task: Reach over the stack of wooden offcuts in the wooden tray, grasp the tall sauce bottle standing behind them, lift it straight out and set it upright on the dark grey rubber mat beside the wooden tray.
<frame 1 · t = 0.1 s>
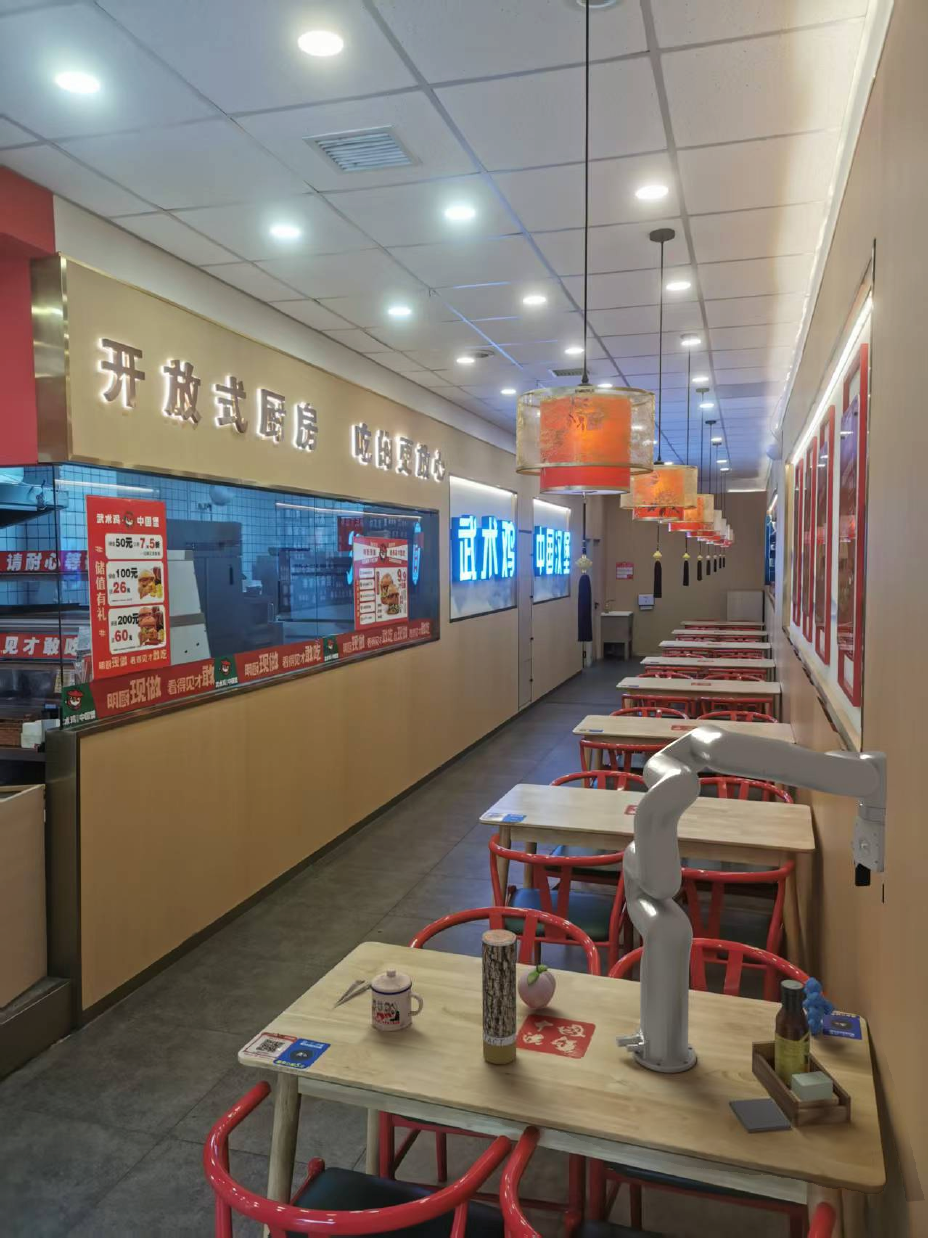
hand: (876, 894, 182), 31 cm above the table, fingers open, 9 cm apart
decorative fruit: (535, 1009, 198), on the table
teacup with lid: (397, 1023, 193), on the table
offcut top: (811, 1094, 160), point 3 cm above the table
grapes: (817, 1035, 187), on the table
sauce bottle: (791, 1087, 168), resting in wooden tray
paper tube: (499, 1057, 179), on the table
wooden tray: (798, 1095, 165), on the table
mat: (759, 1116, 159), on the table
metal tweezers: (346, 1001, 204), on the table
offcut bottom: (812, 1113, 160), resting in wooden tray
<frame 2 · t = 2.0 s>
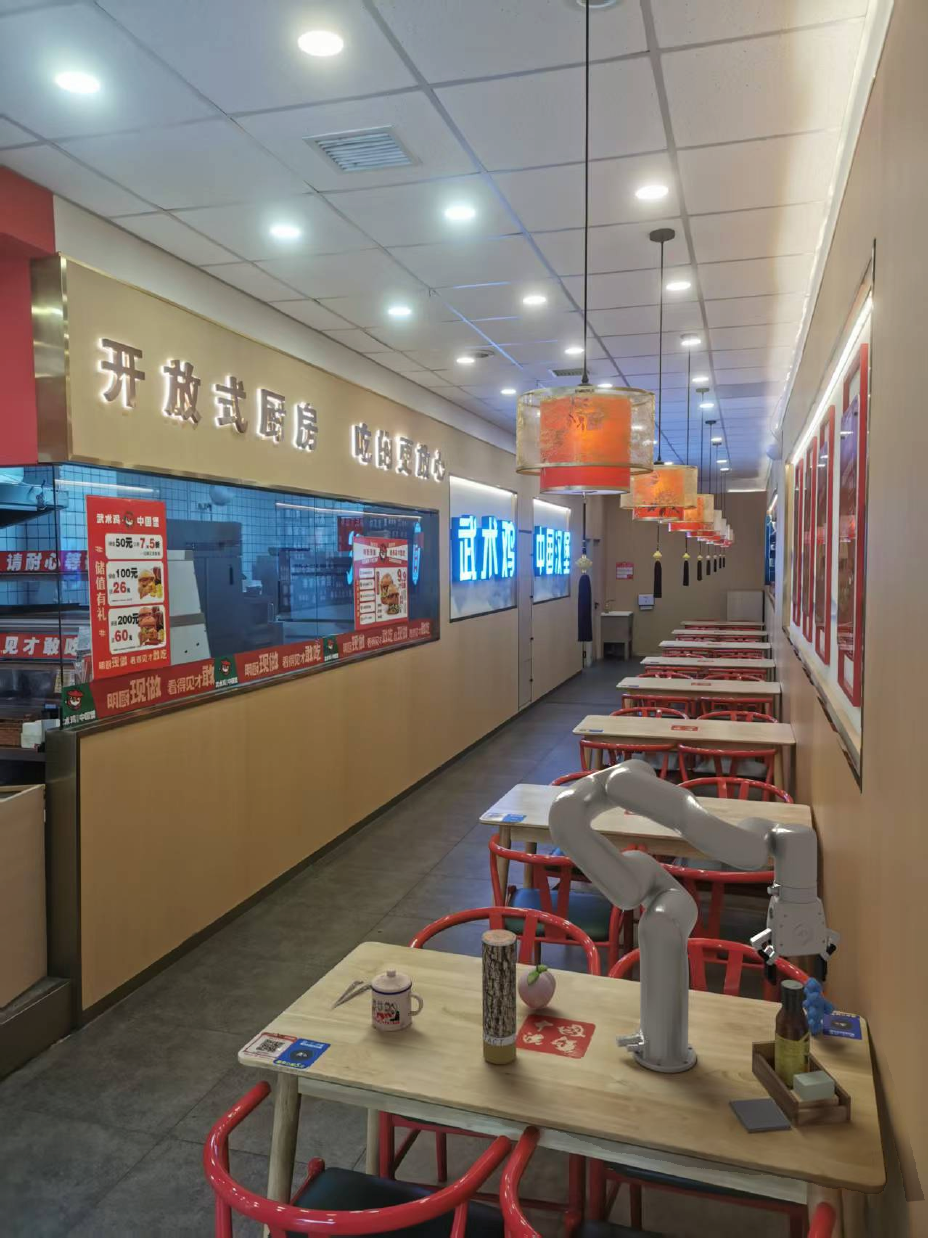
hand: (795, 980, 167), 21 cm above the table, fingers open, 9 cm apart
offcut top: (813, 1094, 160), point 3 cm above the table, touching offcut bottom
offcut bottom: (812, 1113, 160), resting in wooden tray, touching offcut top
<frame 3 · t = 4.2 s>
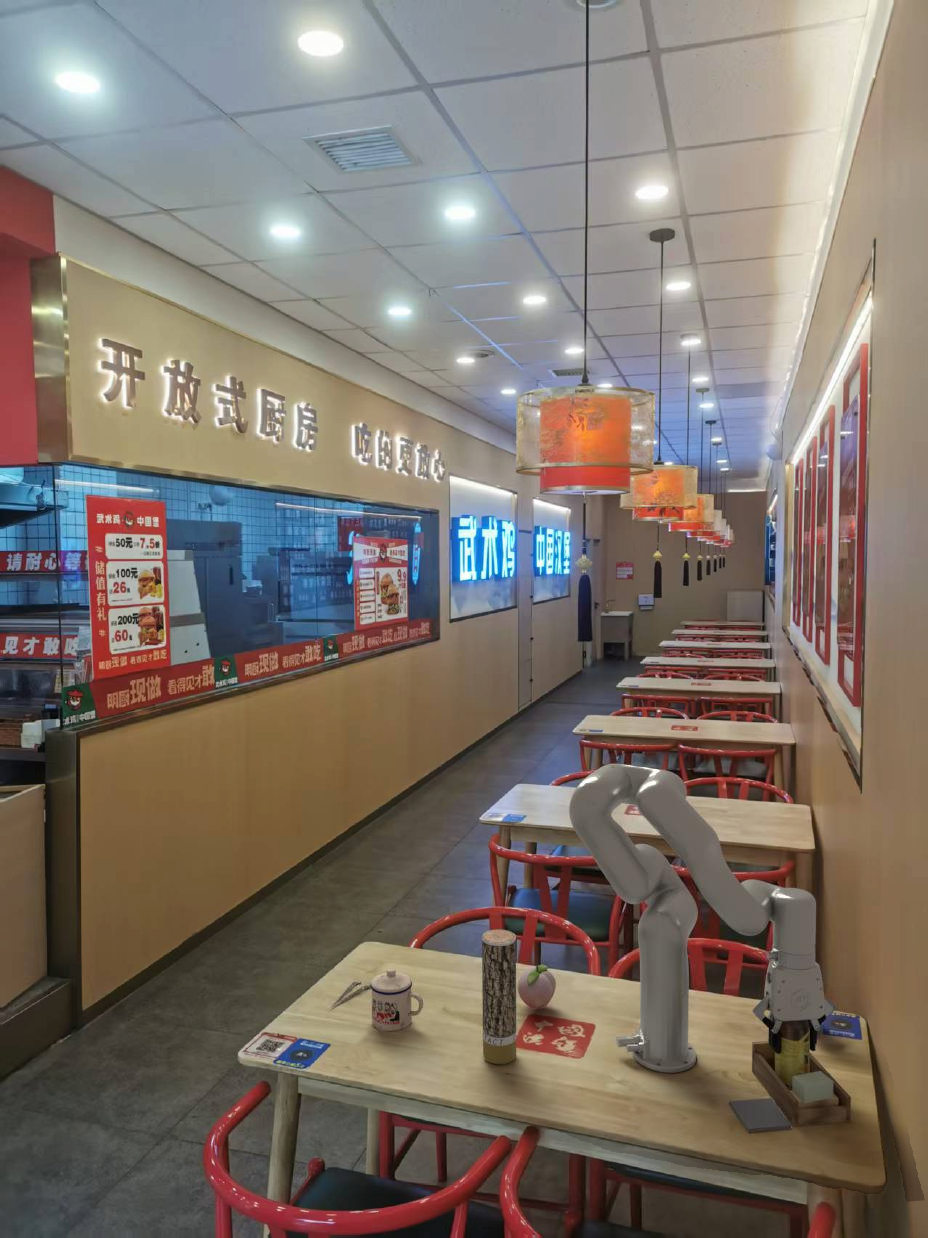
hand: (792, 1047, 168), 8 cm above the table, fingers closed on sauce bottle, 6 cm apart
sauce bottle: (791, 1087, 168), resting in wooden tray, touching gripper
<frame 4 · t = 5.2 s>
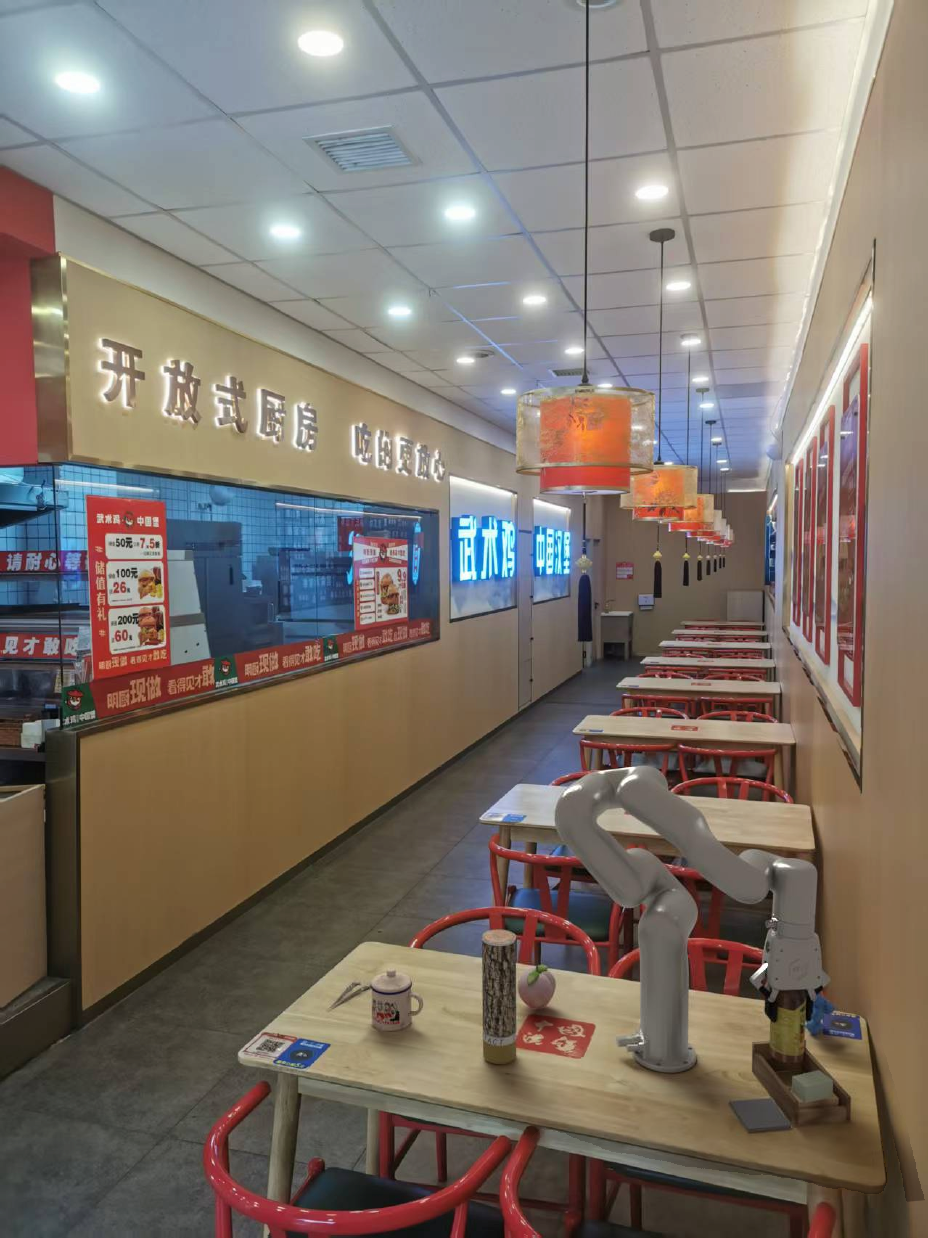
hand: (788, 1017, 168), 13 cm above the table, fingers closed on sauce bottle, 6 cm apart
offcut top: (812, 1094, 160), point 3 cm above the table
sauce bottle: (785, 1057, 168), point 6 cm above the table, touching gripper
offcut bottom: (812, 1113, 160), resting in wooden tray
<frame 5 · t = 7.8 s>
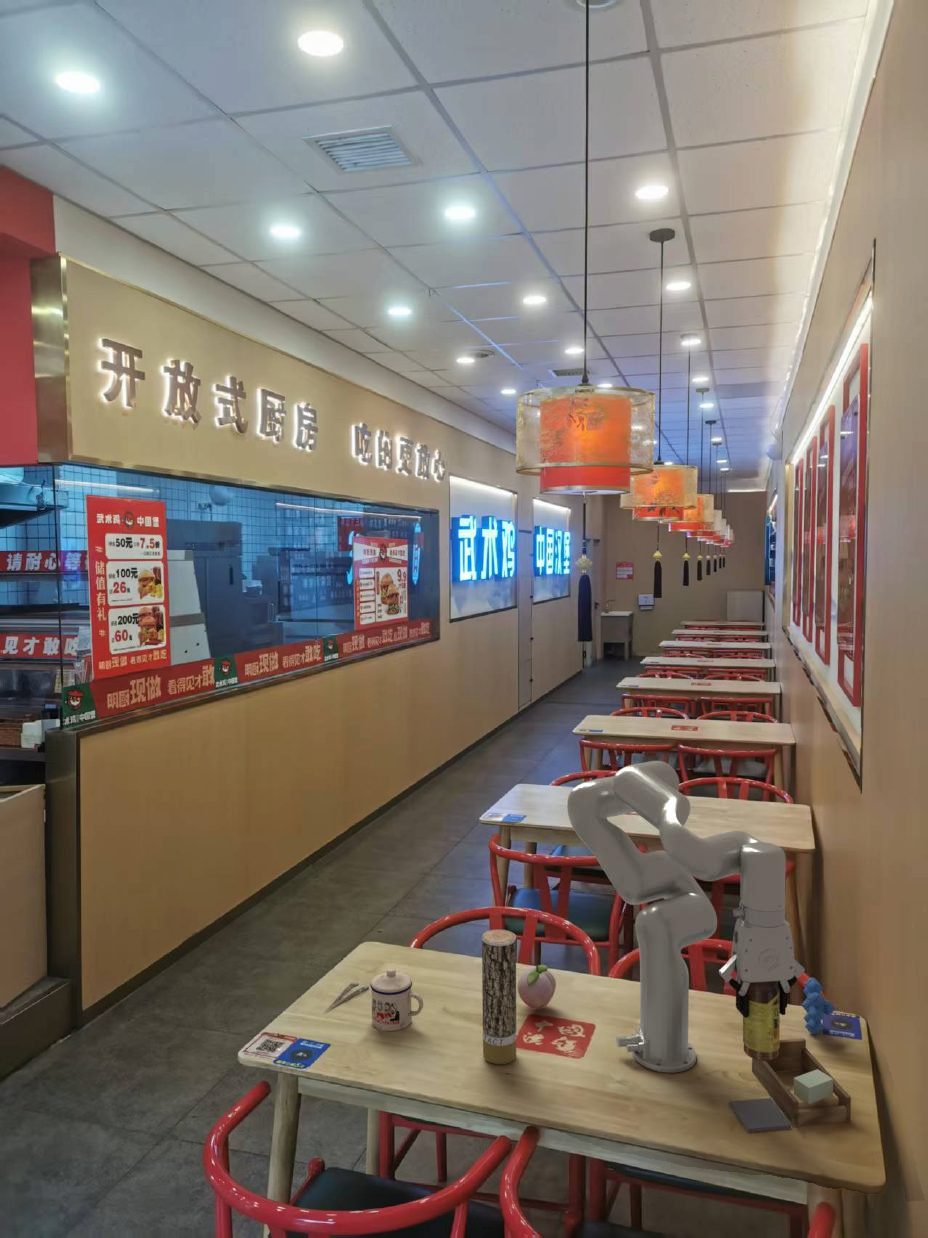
hand: (761, 1011, 158), 19 cm above the table, fingers closed on sauce bottle, 6 cm apart
offcut top: (813, 1094, 160), point 3 cm above the table, touching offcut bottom
sauce bottle: (760, 1054, 158), point 12 cm above the table, touching gripper
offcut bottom: (812, 1113, 160), resting in wooden tray, touching offcut top
when the fingers open (10 cm above the table, at t = 10.3 s): sauce bottle drops 1 cm, resting on mat.
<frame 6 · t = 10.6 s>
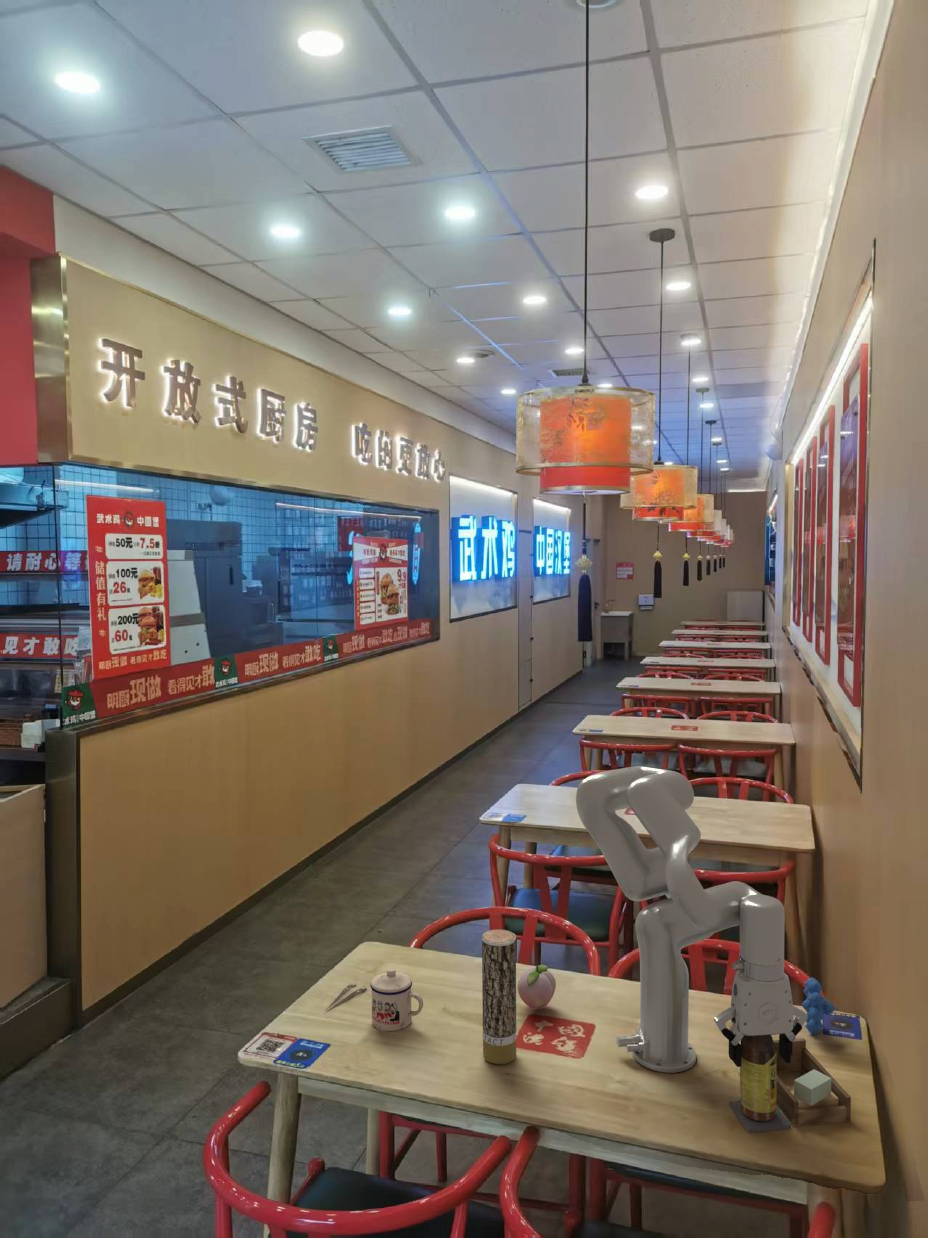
hand: (760, 1060, 159), 10 cm above the table, fingers open, 8 cm apart
offcut top: (812, 1095, 160), point 3 cm above the table
sauce bottle: (757, 1113, 159), resting on mat
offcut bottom: (812, 1113, 160), resting in wooden tray
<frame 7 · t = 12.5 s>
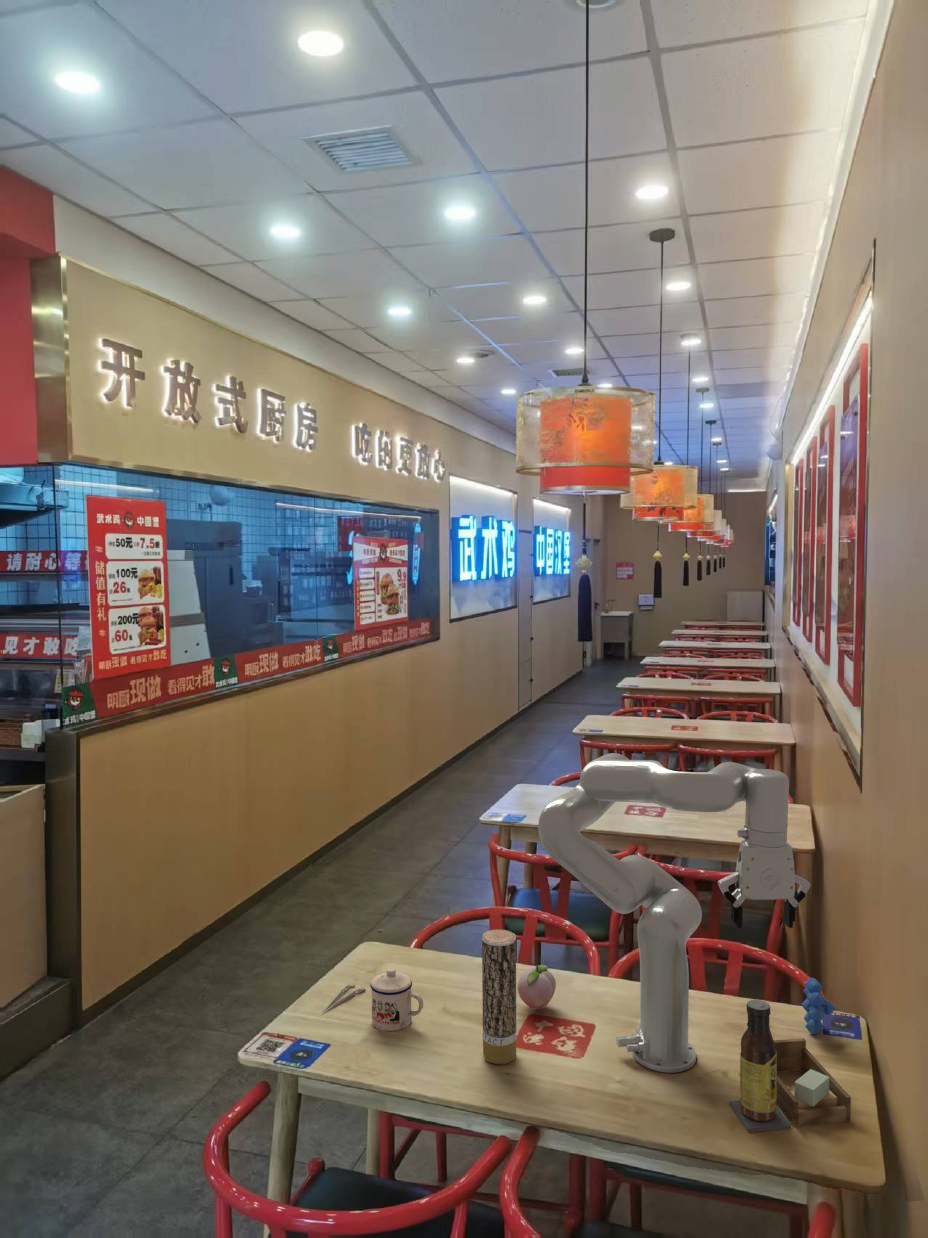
hand: (762, 925, 167), 31 cm above the table, fingers open, 9 cm apart
offcut top: (811, 1095, 160), point 3 cm above the table, touching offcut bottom
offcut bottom: (811, 1113, 160), resting in wooden tray, touching offcut top
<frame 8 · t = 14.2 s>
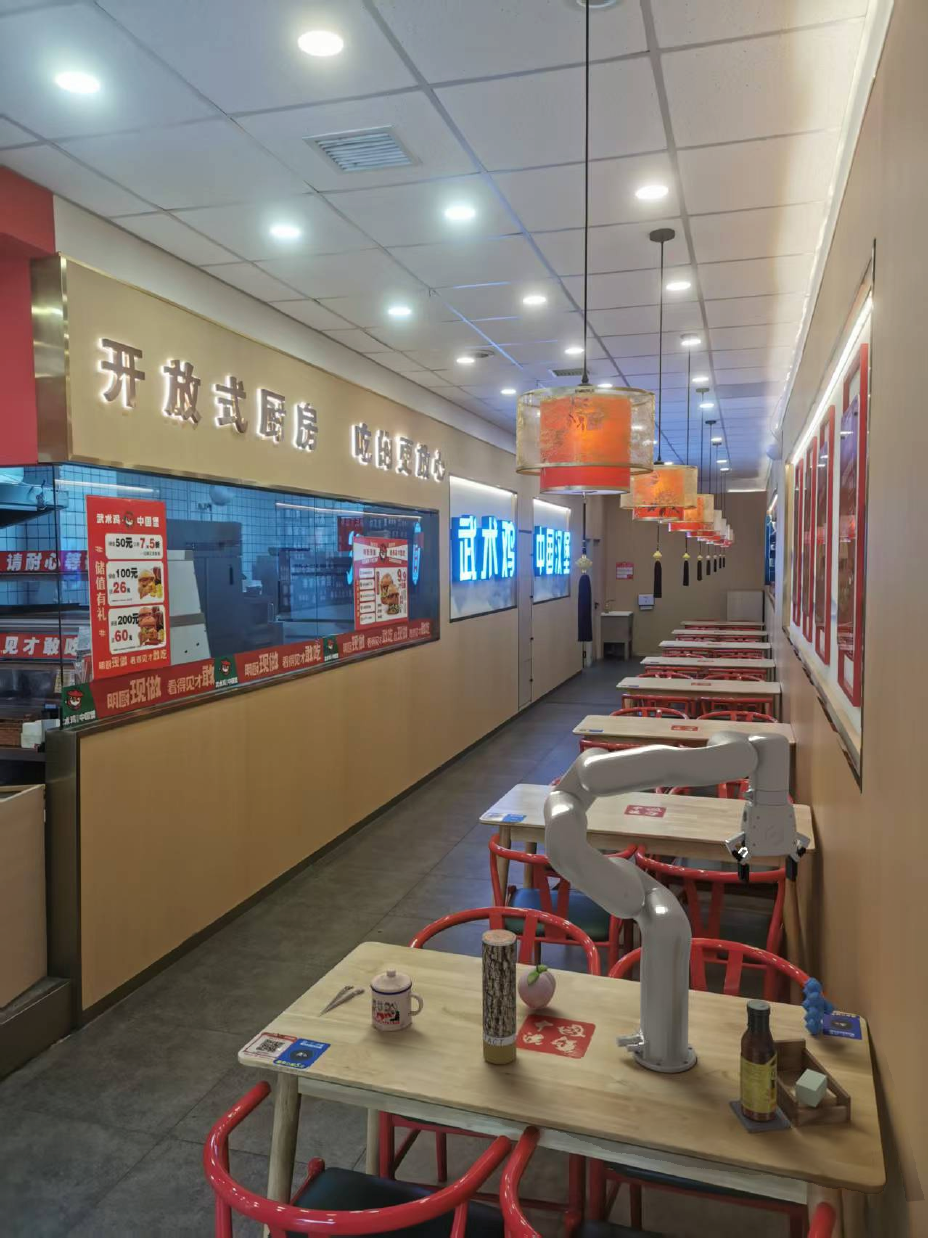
hand: (767, 880, 176), 36 cm above the table, fingers open, 9 cm apart
at the end: sauce bottle inside the target area on the mat (0.4 cm from its centre), point 0.4 cm above the mat's base; sauce bottle tilted 0°; the gripper is holding nothing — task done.
